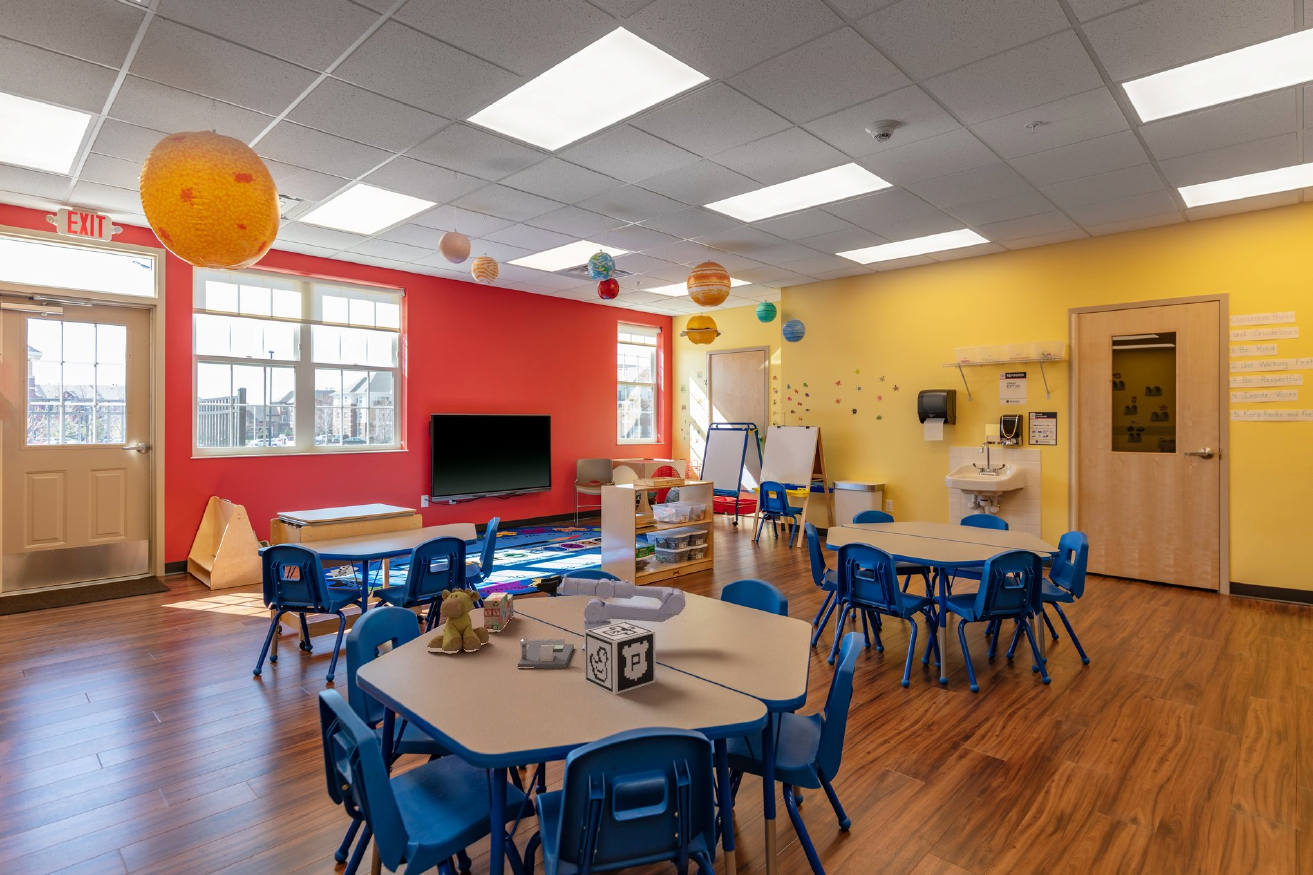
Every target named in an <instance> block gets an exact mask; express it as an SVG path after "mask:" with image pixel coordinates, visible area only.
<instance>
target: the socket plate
mask: <svg viewBox="0 0 1313 875" xmlns="http://www.w3.org/2000/svg"><path fill="white" fill-rule="evenodd" d="M527 646H528V647H527ZM541 646H542V645H526V646H521V645H520V647H521V658H520V659H519V661H518V663H517V668H518V667H534V668H546V669H548V670H550V669H556V670H557V669H559V670H561V669H566V668H567V666H568V663H569V661H570V658H571V656H572V654H573V652H574V648H575V644H574V643H565V644H564V645H555V649H563V652H555V660H554V661H540V647H541Z"/></svg>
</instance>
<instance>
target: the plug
mask: <svg viewBox="0 0 1313 875" xmlns="http://www.w3.org/2000/svg"><path fill="white" fill-rule="evenodd" d="M555 652H563V649H555V645H542V646H541V647H540V661H554V660H555Z"/></svg>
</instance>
